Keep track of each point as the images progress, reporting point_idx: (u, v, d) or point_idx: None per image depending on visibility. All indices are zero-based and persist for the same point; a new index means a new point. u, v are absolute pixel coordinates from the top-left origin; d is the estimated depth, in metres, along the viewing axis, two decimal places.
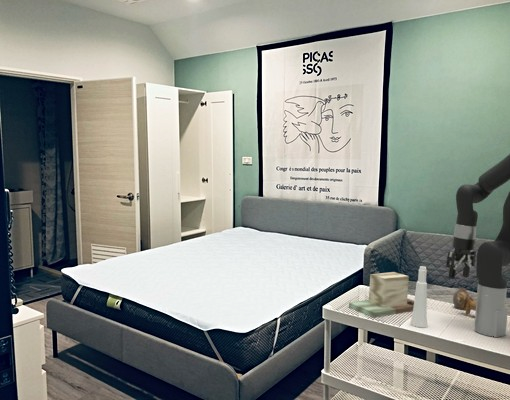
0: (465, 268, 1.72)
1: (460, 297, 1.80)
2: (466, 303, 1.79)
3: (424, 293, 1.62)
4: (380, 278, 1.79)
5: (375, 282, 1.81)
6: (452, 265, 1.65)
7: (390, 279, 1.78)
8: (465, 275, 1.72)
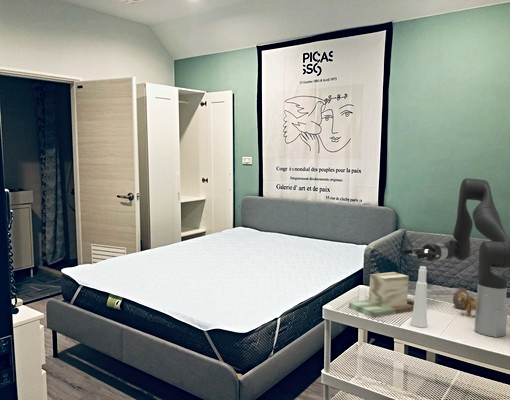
0: None
1: (461, 297, 1.80)
2: (467, 303, 1.79)
3: (424, 293, 1.62)
4: (380, 278, 1.79)
5: (375, 282, 1.81)
6: (407, 248, 1.97)
7: (390, 279, 1.78)
8: None
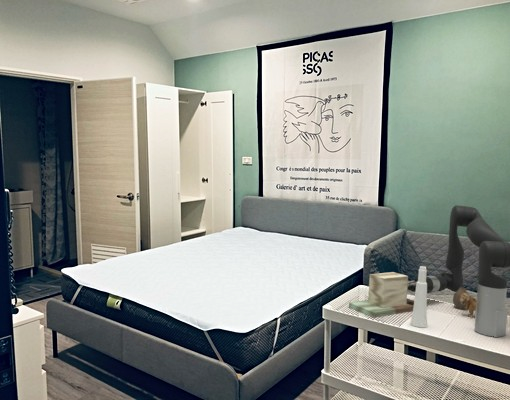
0: None
1: (463, 298, 1.79)
2: (469, 304, 1.78)
3: (424, 293, 1.62)
4: (379, 278, 1.78)
5: (374, 282, 1.81)
6: None
7: (389, 279, 1.78)
8: None
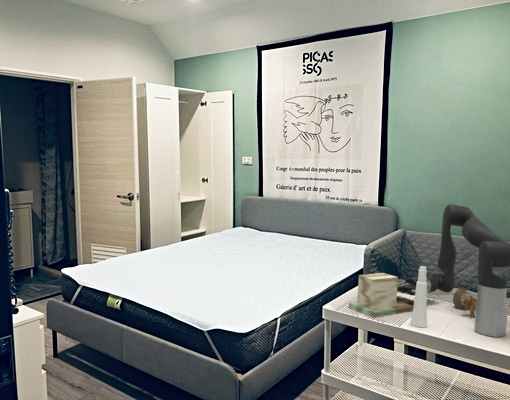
0: None
1: (464, 298, 1.78)
2: (470, 304, 1.77)
3: (424, 293, 1.62)
4: (368, 279, 1.75)
5: (363, 283, 1.78)
6: None
7: (379, 280, 1.75)
8: None
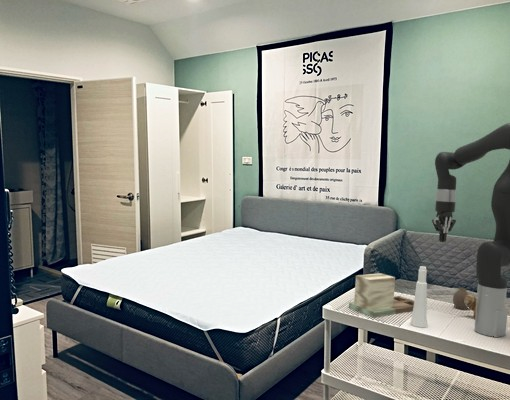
0: None
1: (468, 300, 1.77)
2: (474, 305, 1.76)
3: (424, 293, 1.62)
4: (365, 279, 1.75)
5: (360, 283, 1.77)
6: (441, 229, 1.81)
7: (376, 280, 1.74)
8: None
